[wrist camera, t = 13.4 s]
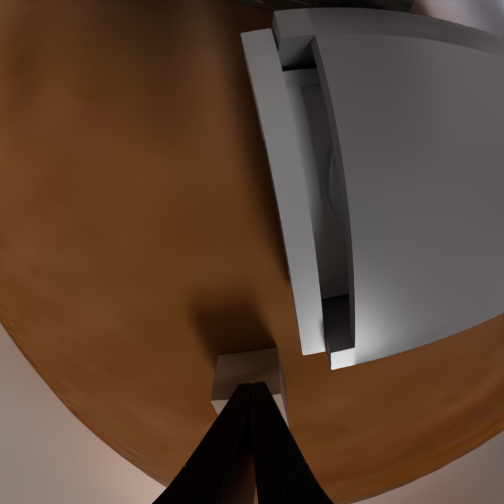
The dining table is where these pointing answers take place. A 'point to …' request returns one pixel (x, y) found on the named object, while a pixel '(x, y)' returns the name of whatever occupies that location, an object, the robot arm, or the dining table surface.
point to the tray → (299, 181)
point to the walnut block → (249, 376)
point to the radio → (332, 4)
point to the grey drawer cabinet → (408, 172)
